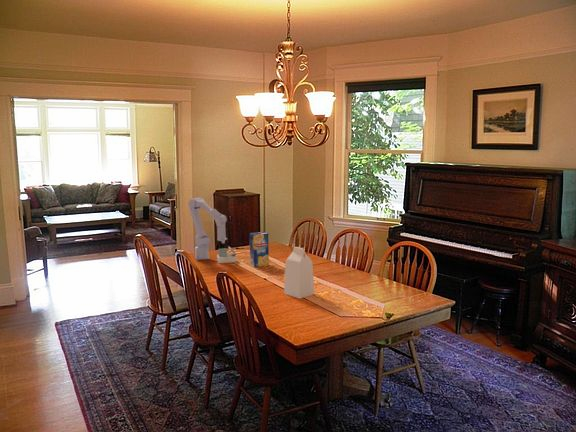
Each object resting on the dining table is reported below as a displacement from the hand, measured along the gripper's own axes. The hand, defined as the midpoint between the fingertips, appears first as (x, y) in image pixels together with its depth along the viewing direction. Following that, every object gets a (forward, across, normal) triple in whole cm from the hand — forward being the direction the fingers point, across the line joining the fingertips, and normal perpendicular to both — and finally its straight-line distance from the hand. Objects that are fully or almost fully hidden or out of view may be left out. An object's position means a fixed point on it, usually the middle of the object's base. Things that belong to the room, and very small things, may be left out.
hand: (222, 251), depth 336 cm
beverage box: (+8, -18, -22) cm, 30 cm away
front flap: (0, -3, 0) cm, 3 cm away
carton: (+7, 0, -3) cm, 8 cm away
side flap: (0, 0, -7) cm, 7 cm away
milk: (+8, -86, -28) cm, 91 cm away
